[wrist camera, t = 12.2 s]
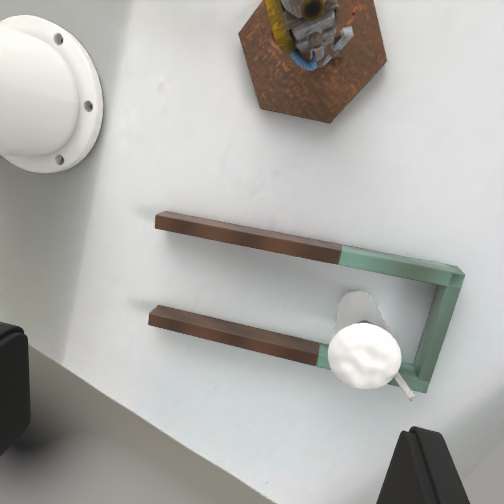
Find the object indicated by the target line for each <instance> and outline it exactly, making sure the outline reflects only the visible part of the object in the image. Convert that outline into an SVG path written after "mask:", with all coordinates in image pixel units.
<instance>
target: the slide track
mask: <svg viewBox="0 0 504 504" xmlns="http://www.w3.org/2000/svg"><path fill="white" fill-rule="evenodd" d="M155 228H156V229H161V230H166V231H171V232H176V233H181V234H186V235H191V236H196V237H201V238H206V239H211V240H216V241H221V242H226V243H231V244H236V245H241V246H246V247H251V248H256V249H261V250H266V251H271V252H276V253H281V254H286V255H291V256H296V257H301V258H306V259H311V260H316V261H321V262H326V263H331V264H336V265H338V264H339V265H342V266H347V267H352V268H357V269H362V270H367V271H372V272H377V273H382V274H387V275H392V276H397V277H402V278H407V279H412V280H417V281H422V282H427V283H432V284H437V285H438V286H437V289H436V293H435V296H434V299H433V302H432V306H431V309H430V312H429V315H428V319H427V322H426V325H425V328H424V332H423V335H422V338H421V341H420V345H419V348H418V351H417V354H416V358H415V361H414V364H413V365H410V364H405V363H401V365H400V368H399V370H398V373H399V374H400V375H401V377H402V378H403V379H404V381H405V382H406V384H407V385H408V386H409V388H410V389H411V390H414V391H418V392H422V393H427V390H428V387H429V384H430V380H431V377H432V374H433V371H434V368H435V365H436V362H437V359H438V356H439V353H440V350H441V347H442V344H443V341H444V338H445V335H446V332H447V329H448V326H449V323H450V320H451V317H452V313H453V310H454V307H455V304H456V301H457V298H458V295H459V292H460V289H461V286H462V283H463V280H464V277H465V274H464V273H463V272H462V271H461V270H460V269H459V268H458V267H457V266H451V265H446V264H441V263H436V262H430V261H425V260H420V259H415V258H409V257H404V256H399V255H394V254H388V253H383V252H378V251H372V250H367V249H362V248H357V247H351V246H346V245H341V244H336V243H331V242H325V241H320V240H315V239H310V238H304V237H299V236H294V235H288V234H283V233H278V232H273V231H267V230H262V229H257V228H252V227H246V226H241V225H236V224H230V223H225V222H220V221H215V220H209V219H204V218H199V217H194V216H188V215H183V214H178V213H173V212H167V211H165V212H162V213H160V214H157V215H156V217H155ZM148 325H151V326H155V327H159V328H163V329H167V330H171V331H175V332H179V333H183V334H187V335H191V336H195V337H199V338H203V339H207V340H211V341H216V342H220V343H224V344H228V345H232V346H236V347H240V348H244V349H248V350H252V351H256V352H260V353H264V354H268V355H272V356H276V357H280V358H284V359H288V360H292V361H296V362H300V363H304V364H308V365H313V366H317V367H321V368H325V369H329V370H331V368H330V365H329V361H328V348H329V345H325V344H321V343H320V344H319V343H317V342H313V341H309V340H305V339H300V338H296V337H292V336H288V335H283V334H279V333H275V332H271V331H267V330H262V329H258V328H254V327H250V326H245V325H241V324H237V323H233V322H228V321H224V320H220V319H216V318H212V317H207V316H203V315H199V314H195V313H190V312H186V311H182V310H178V309H173V308H169V307H165V306H161V305H158V306H157V307H156V308H155V309H154V310H152V311H151V312H150V313H149V321H148ZM387 384H390V385H394V386H398V387H400V385H399V384H398V382H397V381H396V380H395V378H393V379H392V380H391V381H389V382H388V383H387Z"/></svg>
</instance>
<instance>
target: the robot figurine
mask: <svg viewBox="0 0 504 504" xmlns="http://www.w3.org/2000/svg"><path fill="white" fill-rule="evenodd" d="M239 37H240V41H241V44H242V48H243V51H244V54H245V58H246V61H247V65H248V68H249V71H250V75H251V78H252V82H253V85H254V88H255V92H256V95H257V99H258V102H259V105H260V108H261V109H264V110H269V111H274V112H279V113H284V114H288V115H293V116H298V117H303V118H307V119H312V120H317V121H322V122H327V123H331V122H332V121H333V120H334V119H335V118H336V117H337V116H338V114H339V113H340V112H341V111H342V110H343V109H344V108H345V107H346V106H347V105H348V104H349V102H350V101H351V100H352V99H353V98H354V97H355V96H356V95H357V94H358V93H359V91H360V90H361V89H362V88H363V87H364V86H365V85H366V84H367V83H368V82H369V81H370V79H371V78H372V77H373V76H374V75H375V74H376V73H377V72H378V71H379V70H380V69H381V67H382V66H383V65H384V64H385V63H386V61H387V59H386V54H385V50H384V45H383V41H382V37H381V32H380V28H379V23H378V19H377V15H376V10H375V6H374V1H373V0H263V1H262V2H261V4H260V5H259V6H258V8H257V9H256V10H255V12H254V13H253V14H252V16H251V17H250V19H249V20H248V21H247V23H246V24H245V25H244V27H243V28H242V29H241V31H240V32H239Z"/></svg>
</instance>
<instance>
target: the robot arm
mask: <svg viewBox="0 0 504 504" xmlns="http://www.w3.org/2000/svg"><path fill="white" fill-rule="evenodd" d="M102 117H103V98H102V89H101V85H100V81H99V77H98V74H97V72H96V69H95V67H94V65H93V62H92V60H91V59H90V57H89V55H88V54H87V52H86V51H85V49H84V48H83V46H82V45H81V44H80V43H79V42H78V41H77V40H76V39H75V38H74V36H72V35H71V34H70V33H68V32H67V31H66V30H64V29H63V28H62V27H60V26H58V25H56V24H54V23H52V22H50V21H47V20H45V19H42V18H39V17H36V16H27V15H20V16H14V17H9V18H7V19H5V20H3V21H0V156H2V157H4V158H5V159H6V160H8V161H9V162H10V163H12V164H14V165H15V166H17V167H19V168H21V169H24V170H27V171H31V172H34V173H54V172H60V171H63V170H67V169H69V168H71V167H73V166H75V165H76V164H78V163H79V162H80V161H81V160H82V159H84V158H85V157H86V156H87V154H88V153H89V152H90V150H91V149H92V147H93V146H94V144H95V142H96V139H97V137H98V135H99V132H100V127H101V123H102ZM30 416H31V415H30V386H29V357H28V338H27V336H26V335H25V334H24V331H23V329H22V328H21V327H19V326H15V325H11V324H7V323H3V322H0V456H1V455H2V454H3V453H4V452H5V451H6V450H7V449H8V448H9V447H10V446H11V445H12V444H13V443H15V442H16V440H18V439H19V438H20V437H21V436H22V435H23V433H25V431H26V430H27V428H28V426H29V423H30V418H31V417H30ZM376 504H470V502H469V500H468V497H467V495H466V492H465V490H464V487H463V485H462V482H461V480H460V477H459V475H458V473H457V470H456V468H455V465H454V463H453V460H452V458H451V455H450V453H449V450H448V448H447V445H446V443H445V440H444V438H443V436H442V434H440V433H439V432H435V431H431V430H427V429H423V428H419V427H415V426H413V427H411V428H410V430H409V432H407V431H402V432H401V433H400V436H399V439H398V442H397V444H396V447H395V450H394V453H393V456H392V459H391V462H390V465H389V468H388V471H387V474H386V477H385V480H384V483H383V486H382V489H381V491H380V494H379V497H378V500H377V503H376Z"/></svg>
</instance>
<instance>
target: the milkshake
mask: <svg viewBox="0 0 504 504" xmlns="http://www.w3.org/2000/svg"><path fill="white" fill-rule="evenodd" d="M328 361H329V365H330V368H331V370H332V372H333V373H334V375H335V376H336V377H337V378H338V379H340V380H341V381H342V382H344V383H346V384H347V385H349V386H351V387H352V388H355V389H374V388H379V387H382V386H384V385H385V384H387V383H388V382H389V381H391V380H392V379H393V378H395V380H396V381H397V382H398V384H399V385H400V387H401V388H402V390H403V391H404V393H405V394H406V396H407V397H408V398H409V400H410V401H411V402H412V401H413V399H414V398H415V395H414V393H413V392H412V391H411V389H410V388H409V386H408V385H407V384H406V382H405V381H404V379H403V378H402V377H401V375H400V374H399V373H398V370H399V368H400V365H401V351H400V348H399V346H398V343H397V342H396V340H395V338H394V336H393V334H392V333H391V331H390V329H389V327H388V326H387V324H386V322H385V321H384V318H383V316H382V314H381V312H380V310H379V308H378V306H377V304H376V302H375V300H374V298H373V296H372V295H370V294H368V293H366V292H364V291H362V290H358V291H349V292H348V293H347V294H345V295H344V296H343V297H342V298H340V301H339V306H338V311H337V316H336V322H335V326H334V329H333V332H332V336H331V340H330V344H329V348H328Z"/></svg>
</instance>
